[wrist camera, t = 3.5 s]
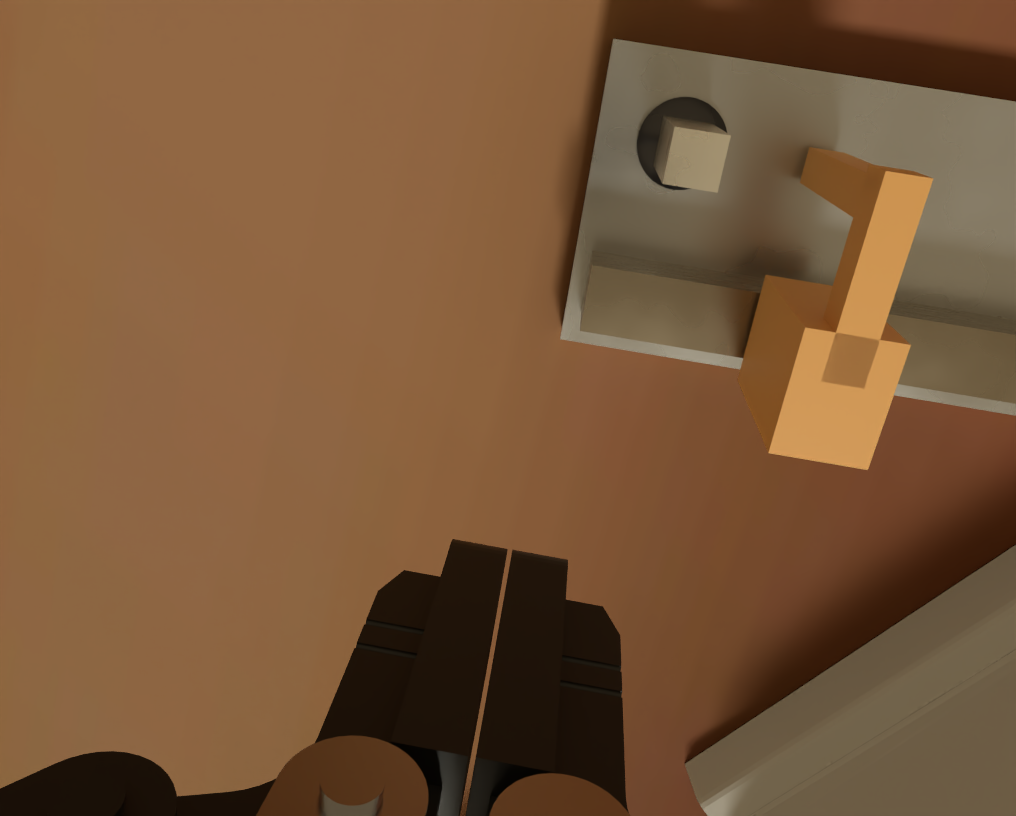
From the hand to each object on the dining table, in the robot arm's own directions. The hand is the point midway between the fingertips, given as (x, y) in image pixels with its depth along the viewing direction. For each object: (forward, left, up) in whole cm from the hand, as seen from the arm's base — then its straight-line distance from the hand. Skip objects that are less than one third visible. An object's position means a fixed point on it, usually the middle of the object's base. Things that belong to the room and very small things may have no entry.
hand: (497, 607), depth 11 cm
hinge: (+22, +1, -19) cm, 29 cm away
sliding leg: (+4, +6, -17) cm, 18 cm away
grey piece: (+5, +9, -19) cm, 21 cm away
